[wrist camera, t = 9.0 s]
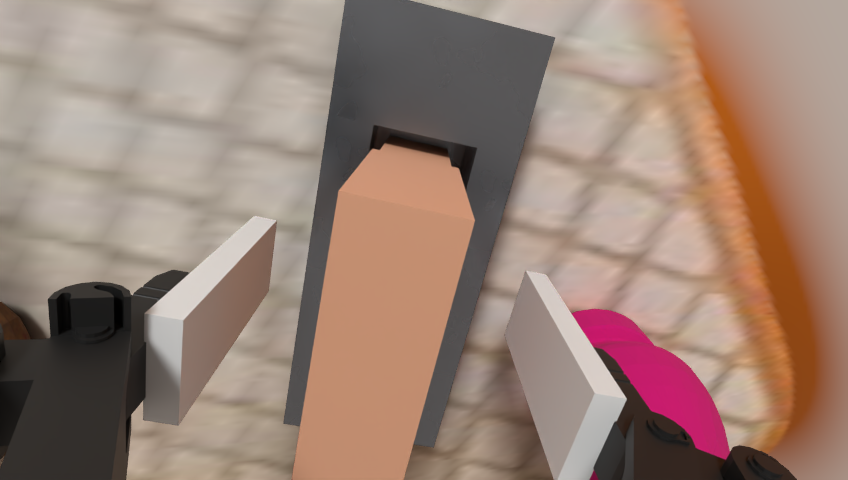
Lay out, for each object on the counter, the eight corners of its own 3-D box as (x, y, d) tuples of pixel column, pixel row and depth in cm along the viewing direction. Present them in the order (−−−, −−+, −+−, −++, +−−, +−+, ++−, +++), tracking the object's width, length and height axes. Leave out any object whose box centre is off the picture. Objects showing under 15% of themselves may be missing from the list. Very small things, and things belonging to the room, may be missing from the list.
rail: (301, 375, 24) (283, 423, 20) (360, 1, 18) (347, -16, 14) (430, 397, 24) (433, 447, 21) (530, 44, 18) (555, 37, 15)
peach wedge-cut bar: (350, 308, 22) (290, 483, 12) (383, 134, 19) (338, 190, 10) (411, 320, 22) (397, 502, 13) (453, 150, 19) (474, 220, 10)
